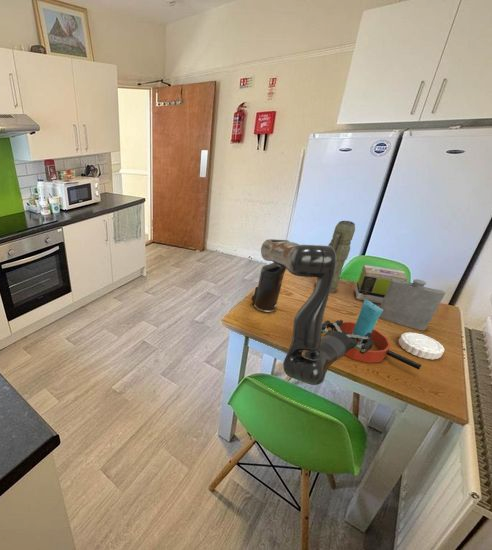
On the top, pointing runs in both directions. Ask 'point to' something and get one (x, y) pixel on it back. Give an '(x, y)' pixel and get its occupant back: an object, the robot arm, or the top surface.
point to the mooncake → (421, 345)
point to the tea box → (376, 282)
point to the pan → (375, 355)
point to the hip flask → (410, 303)
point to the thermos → (341, 248)
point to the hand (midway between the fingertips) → (354, 328)
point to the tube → (367, 318)
